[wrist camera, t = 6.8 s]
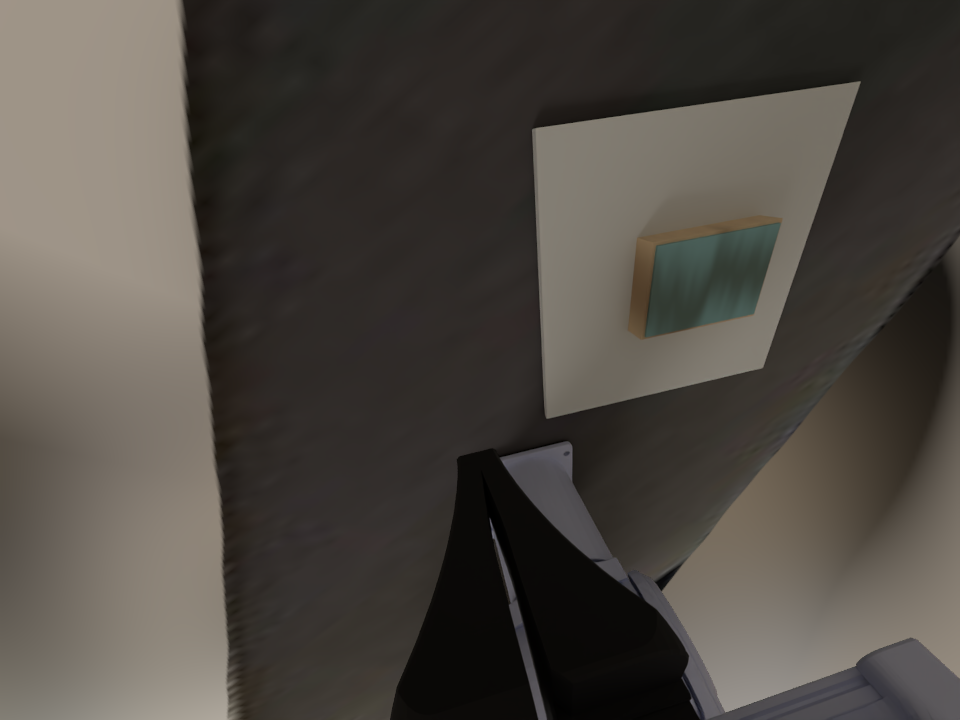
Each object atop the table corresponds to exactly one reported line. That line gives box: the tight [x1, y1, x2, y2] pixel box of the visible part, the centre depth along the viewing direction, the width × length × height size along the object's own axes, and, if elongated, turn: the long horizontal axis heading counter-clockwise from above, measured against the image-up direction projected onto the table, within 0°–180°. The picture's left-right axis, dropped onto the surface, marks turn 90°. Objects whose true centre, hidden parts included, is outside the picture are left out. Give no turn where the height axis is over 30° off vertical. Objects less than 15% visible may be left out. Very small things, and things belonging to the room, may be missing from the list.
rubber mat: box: [532, 81, 861, 419], centre depth 22 cm, size 18×18×1 cm
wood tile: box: [628, 215, 783, 340], centre depth 21 cm, size 6×2×8 cm
